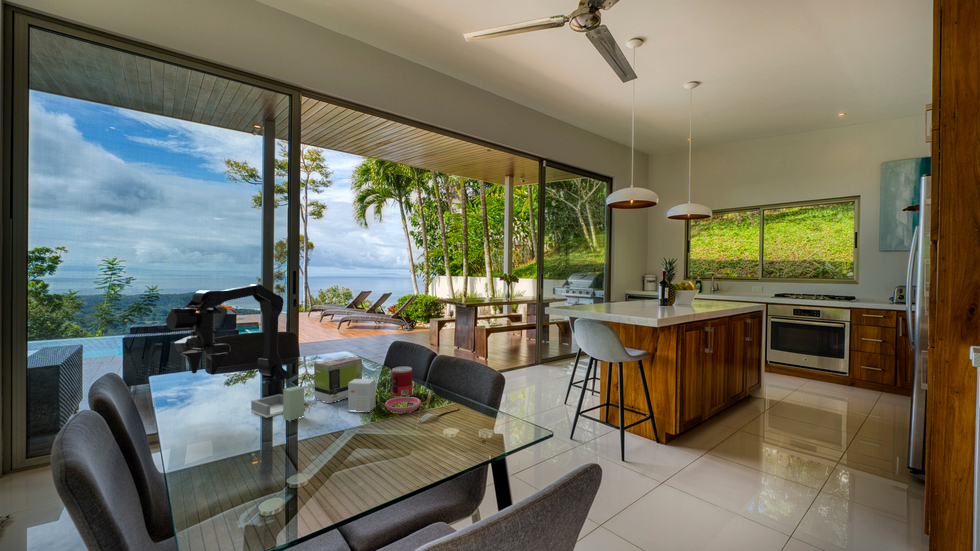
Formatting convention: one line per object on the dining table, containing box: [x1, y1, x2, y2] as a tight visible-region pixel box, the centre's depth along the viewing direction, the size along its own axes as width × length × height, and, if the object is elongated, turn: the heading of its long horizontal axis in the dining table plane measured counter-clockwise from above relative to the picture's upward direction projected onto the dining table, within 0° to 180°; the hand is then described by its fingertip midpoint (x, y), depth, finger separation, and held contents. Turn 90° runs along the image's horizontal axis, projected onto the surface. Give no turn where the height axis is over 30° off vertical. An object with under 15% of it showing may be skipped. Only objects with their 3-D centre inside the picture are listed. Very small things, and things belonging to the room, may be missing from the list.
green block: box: [282, 385, 305, 422], centre depth 143 cm, size 4×5×10 cm
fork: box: [419, 412, 437, 423], centre depth 147 cm, size 3×21×3 cm, turn 141°
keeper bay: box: [250, 394, 283, 418], centre depth 150 cm, size 10×10×4 cm
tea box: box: [313, 355, 363, 404], centre depth 166 cm, size 15×10×15 cm
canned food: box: [391, 366, 413, 397], centre depth 168 cm, size 8×8×11 cm
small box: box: [347, 378, 376, 412], centre depth 151 cm, size 8×6×10 cm
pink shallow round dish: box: [384, 396, 422, 413], centre depth 153 cm, size 12×12×3 cm
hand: (203, 373), depth 144 cm, fingers open, 9 cm apart
